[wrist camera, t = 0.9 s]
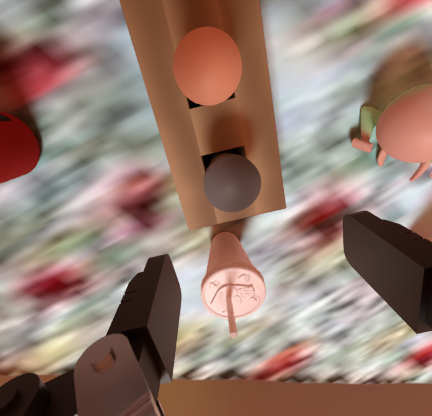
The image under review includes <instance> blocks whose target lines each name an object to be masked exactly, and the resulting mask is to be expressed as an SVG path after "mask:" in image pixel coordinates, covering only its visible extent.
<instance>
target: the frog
mask: <svg viewBox="0 0 432 416" xmlns="http://www.w3.org/2000/svg"><path fill="white" fill-rule="evenodd" d="M360 115H361V138H362V140H361V139H358V138H354V139H353V141H352V147H354V148H357V149H360V150H362V151H365V152H368V153H370V152H371V150H372V147H373V144H372V143H370V142H369V140H370V137H371V135H372V132H373V128H374V126H375V125H376V126H377V127H376V138H377V141H378V143H379V145H380V147H381V150H380V152H379V155H378V158H377V162H378V165H379V166H382V165H383V163H384V161H385V158H386V156H387V154H388V155H390V156H391V157H393V158H395V159H398V160H401V161H404V162H410V163H421V164H420V166H419V168H418V169H417V170H416V172H415V173H414V174H413V175H412V177H411V178H410V181H413V180H415V179H417V178H418V177H419V176H420V175H421V174H422V173H423V172H424V171H425V170H426V169H427V168H428V167H429V165H430V164H431V163H432V83H426V84H421V85H417V86H414V87H412V88H409V89H407V90H405V91H404V92H402V93H401V94H399V95H398V96H396V97H395V98H394V99H393V100H392V101H391V102H390V103H389V104H388V105H387V106H386V108H385V109H384V110H383V112H380V111H378V110H377V109H375V108H373V107H371V106H363V107H362V108H361V114H360ZM430 177H432V173H431V174H430Z"/></svg>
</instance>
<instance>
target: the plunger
mask: <svg viewBox="0 0 432 416" xmlns="http://www.w3.org/2000/svg"><path fill="white" fill-rule="evenodd" d="M260 190H261V177H260V174H259V171H258V169H257V168H256V167H255V165H254V164H253V163H252V162H251V161H250V160H248V159H247V158H245V157H244V156H241V155H237V154H234V153H233V152H231V151H220V152H218V153H216V154H215V155H214V156H213V157H212V158H211V160H210V164H209V166H208V168H207V170H206V172H205V175H204V192H205V195H206V197H207V199H208V201H209V202H210V203H211V204H212V205H213V206H214V207H216V208H217V209H219V210H222V211H225V212H237V211H241V210H244V209H246V208H247V207H249V206H250V205H251V204H252V203H253V202H254V201H255V200H256V199H257V197H258V195H259V193H260Z"/></svg>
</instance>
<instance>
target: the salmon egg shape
mask: <svg viewBox="0 0 432 416" xmlns="http://www.w3.org/2000/svg"><path fill="white" fill-rule="evenodd" d="M173 71H174V76H175V79H176V82H177V84H178V86H179V88H180V90H181V91H182V92H183V94H184V95H185V96H186V97H187V98H189V99H190V100H191V101H193V102H195V103H197V104H200V105H205V106H212V105H216V104H219V103H221V102H223V101H225V100H226V99H228V98H229V97H230V96H231V95H232V94H233V93H234V91H235V90H236V88H237V86H238V84H239V82H240V78H241V74H242V60H241V55H240V52H239V49H238V47H237V45H236V44H235V42H234V41H233V39H232V38H231V37H230V36H229V35H228V34H226V33H225V32H223V31H222V30H220V29H217V28H214V27H200V28H197V29H194V30H192V31H190V32H189V33H188V34H186V35H185V36H184V37H183V39H182V40H181V41H180V43H179V44H178V46H177V48H176V51H175V54H174V60H173Z"/></svg>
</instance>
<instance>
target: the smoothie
mask: <svg viewBox="0 0 432 416" xmlns="http://www.w3.org/2000/svg"><path fill="white" fill-rule="evenodd" d="M265 295H266V288H265V283H264V279H263V277H262V275H261V273H260V272H259V271H258V270H257V269H256V268H255V267H254V266H253V265H252V263H251V261H250V260H249V258H248V256H247V254H246V252H245V251H244V249H243V247H242V245H241V243H240V242H239V240H238V238H237V237H236V236H235V235H234V234H233V233H230V232H221V233H219V234H217V235H216V236H215V237H214V238H213V240H212V243H211V249H210V254H209V260H208V266H207V271H206V275H205V277H204V278H203V280H202V284H201V298H202V302H203V304H204V306H205V308H206V309H207V310H208V311H209V312H210V313H212V314H213V315H215V316H218V317H220V318H225V319H228V321H229V329H230V336H231V337H232V338H235V337H236V336H237V330H236V324H235V319H238V318H242V317H245V316H248V315H250V314H252V313H253V312H255V311H256V310H257V309H258V308H259V307H260V306H261V304H262V303H263V301H264V299H265Z"/></svg>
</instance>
